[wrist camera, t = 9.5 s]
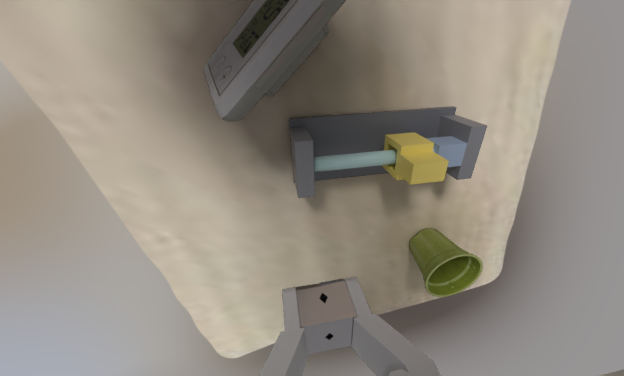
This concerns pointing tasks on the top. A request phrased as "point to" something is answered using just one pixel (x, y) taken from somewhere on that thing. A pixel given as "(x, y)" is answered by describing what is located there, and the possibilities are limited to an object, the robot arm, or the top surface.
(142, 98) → the top surface
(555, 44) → the top surface
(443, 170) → the yellow stepped block
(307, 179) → the grey rectangular frame
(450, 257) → the plant pot
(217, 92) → the digital clock
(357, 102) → the top surface
